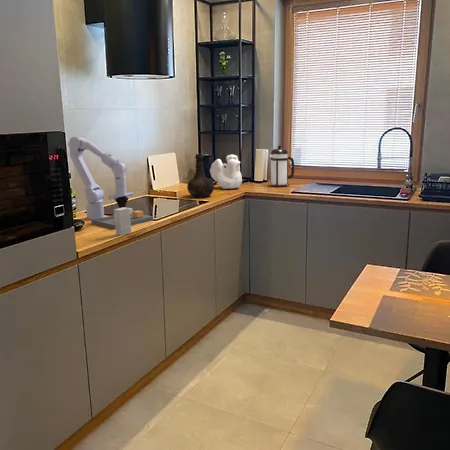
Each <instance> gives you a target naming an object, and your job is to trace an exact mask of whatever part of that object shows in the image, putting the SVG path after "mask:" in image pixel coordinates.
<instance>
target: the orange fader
mask: <svg viewBox="0 0 450 450" xmlns="http://www.w3.org/2000/svg"><path fill="white" fill-rule="evenodd" d="M143 215H144V211H143V210H133V212H132V217H135V218H139V217H143Z"/></svg>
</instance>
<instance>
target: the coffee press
mask: <svg viewBox="0 0 450 450" xmlns="http://www.w3.org/2000/svg"><path fill="white" fill-rule="evenodd" d="M281 147H282V146H281V145H280V144H279V145H278V146H277V148H273V149H271V151H270V156H269V157H270V183H269V186H270V187H271V186H275V188H278V187H279V186H286V187H287V188H288V187H289V186H290V184H289V182H288V180H289V179H293V177H294V175H295V160H294V159H293V157H292V156H288V154H289V151H288V150H287V149H286V148H281ZM289 160H290V161H291V167H290V168H291V169H290V170H291V171H290V172H291V174H290V175H289V176H288V173H289V172H288V170H289V168H288V167H289V165H288V164H289Z"/></svg>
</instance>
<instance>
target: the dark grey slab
mask: <svg viewBox="0 0 450 450" xmlns="http://www.w3.org/2000/svg"><path fill="white" fill-rule="evenodd" d="M90 221H91V224H92V225H95V226H99V227H100V226H101V227H103V228H108V229H113V230H116V229H115V218H114V214H113V215H109V216H105V217H103V218H98V219H94V220H91V219H90ZM152 221H154V216H153V215H147V214H143V217H139V218H135V217H132V214H130V222H131V227H132V226H135V225H139V224H143V223H147V222H152Z"/></svg>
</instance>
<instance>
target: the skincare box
mask: <svg viewBox="0 0 450 450" xmlns="http://www.w3.org/2000/svg"><path fill="white" fill-rule="evenodd" d="M129 208H130V207H126V206H125V207H122V208H119V207H117V208H114V209H113V215H114V218H115V229H114V230H115V235H117V236H120V237H121V236H125V235H128V234H129V235H130V234H132V226H131V222H130V210H129Z"/></svg>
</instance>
